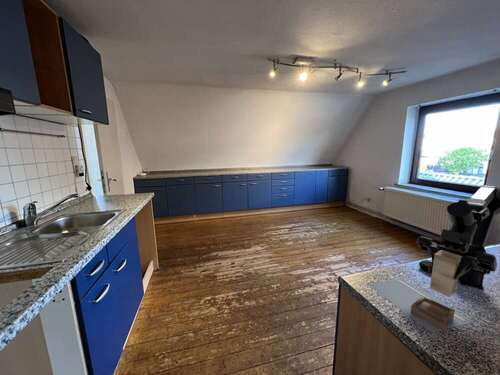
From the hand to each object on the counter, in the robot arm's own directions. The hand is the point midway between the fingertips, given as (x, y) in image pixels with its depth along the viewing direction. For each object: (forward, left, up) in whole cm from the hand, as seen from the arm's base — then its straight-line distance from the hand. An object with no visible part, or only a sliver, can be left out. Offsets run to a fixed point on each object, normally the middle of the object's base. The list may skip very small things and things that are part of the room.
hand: (443, 274), depth 69 cm
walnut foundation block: (+2, +5, -12) cm, 13 cm away
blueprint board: (+6, -1, -13) cm, 14 cm away
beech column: (-1, -1, -6) cm, 6 cm away
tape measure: (-1, -30, -13) cm, 33 cm away
